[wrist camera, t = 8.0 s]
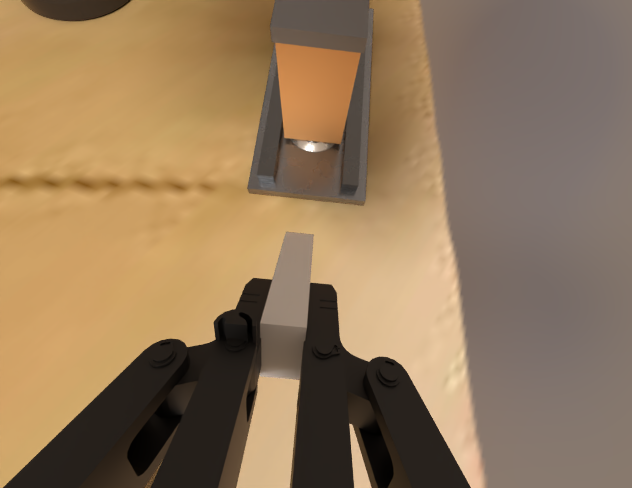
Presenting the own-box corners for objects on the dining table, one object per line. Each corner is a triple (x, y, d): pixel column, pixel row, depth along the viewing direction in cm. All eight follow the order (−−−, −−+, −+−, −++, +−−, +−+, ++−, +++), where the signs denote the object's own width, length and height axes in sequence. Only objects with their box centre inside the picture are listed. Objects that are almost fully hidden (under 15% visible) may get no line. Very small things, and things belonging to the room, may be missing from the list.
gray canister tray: (363, 205, 27) (407, 122, 16) (249, 193, 27) (210, 100, 16) (371, 17, 35) (405, -129, 24) (283, 6, 35) (274, -147, 24)
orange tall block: (342, 145, 28) (367, 38, 17) (282, 139, 27) (269, 26, 17) (345, 105, 29) (370, -17, 19) (288, 98, 29) (280, -29, 18)
